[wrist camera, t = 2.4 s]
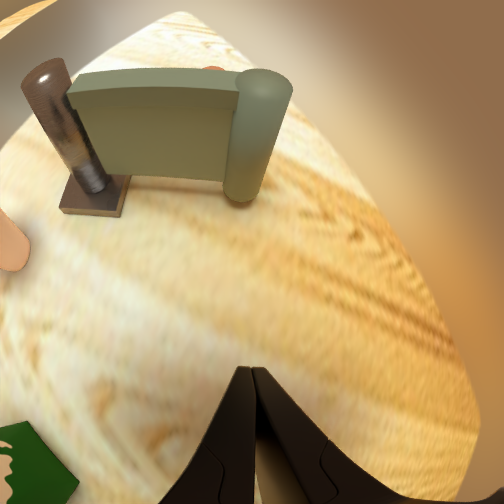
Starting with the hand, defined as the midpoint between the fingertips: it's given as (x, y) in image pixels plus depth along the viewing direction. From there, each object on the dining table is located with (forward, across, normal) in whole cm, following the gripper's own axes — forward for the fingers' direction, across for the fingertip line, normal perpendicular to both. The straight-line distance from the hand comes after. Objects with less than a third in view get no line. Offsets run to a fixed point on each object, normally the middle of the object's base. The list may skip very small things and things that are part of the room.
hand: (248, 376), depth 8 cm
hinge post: (+18, +13, -3) cm, 22 cm away
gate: (+16, +5, -4) cm, 18 cm away
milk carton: (+1, +17, +19) cm, 26 cm away
